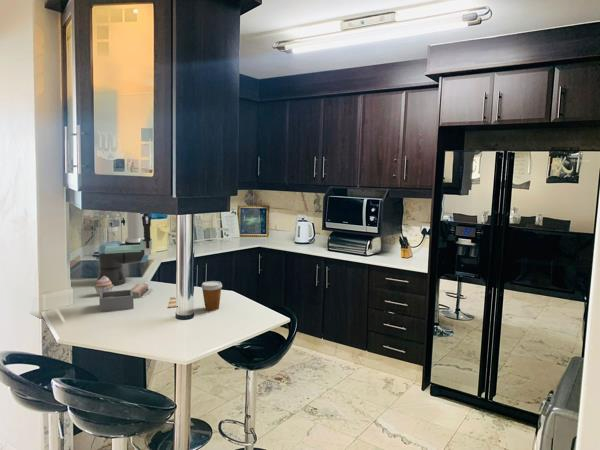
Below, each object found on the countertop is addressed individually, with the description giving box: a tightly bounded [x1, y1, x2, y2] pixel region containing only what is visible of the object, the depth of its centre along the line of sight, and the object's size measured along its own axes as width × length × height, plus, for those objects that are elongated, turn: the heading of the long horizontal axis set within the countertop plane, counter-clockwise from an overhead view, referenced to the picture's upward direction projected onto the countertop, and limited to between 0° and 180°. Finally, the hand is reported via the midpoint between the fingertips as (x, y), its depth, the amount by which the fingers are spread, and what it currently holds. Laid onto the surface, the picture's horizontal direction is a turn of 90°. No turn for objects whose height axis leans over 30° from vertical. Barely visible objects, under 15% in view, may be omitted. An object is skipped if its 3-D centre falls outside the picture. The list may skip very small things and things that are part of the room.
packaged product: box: [129, 282, 154, 299], centre depth 232 cm, size 18×5×10 cm
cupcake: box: [93, 276, 114, 297], centre depth 231 cm, size 9×9×10 cm
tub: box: [98, 289, 134, 313], centre depth 209 cm, size 12×14×7 cm
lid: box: [105, 237, 153, 254], centre depth 208 cm, size 13×20×5 cm, turn 111°
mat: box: [167, 296, 177, 309], centre depth 217 cm, size 16×18×1 cm
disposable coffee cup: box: [201, 280, 223, 311], centre depth 210 cm, size 10×10×12 cm
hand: (147, 254), depth 211 cm, fingers closed on lid, 3 cm apart
